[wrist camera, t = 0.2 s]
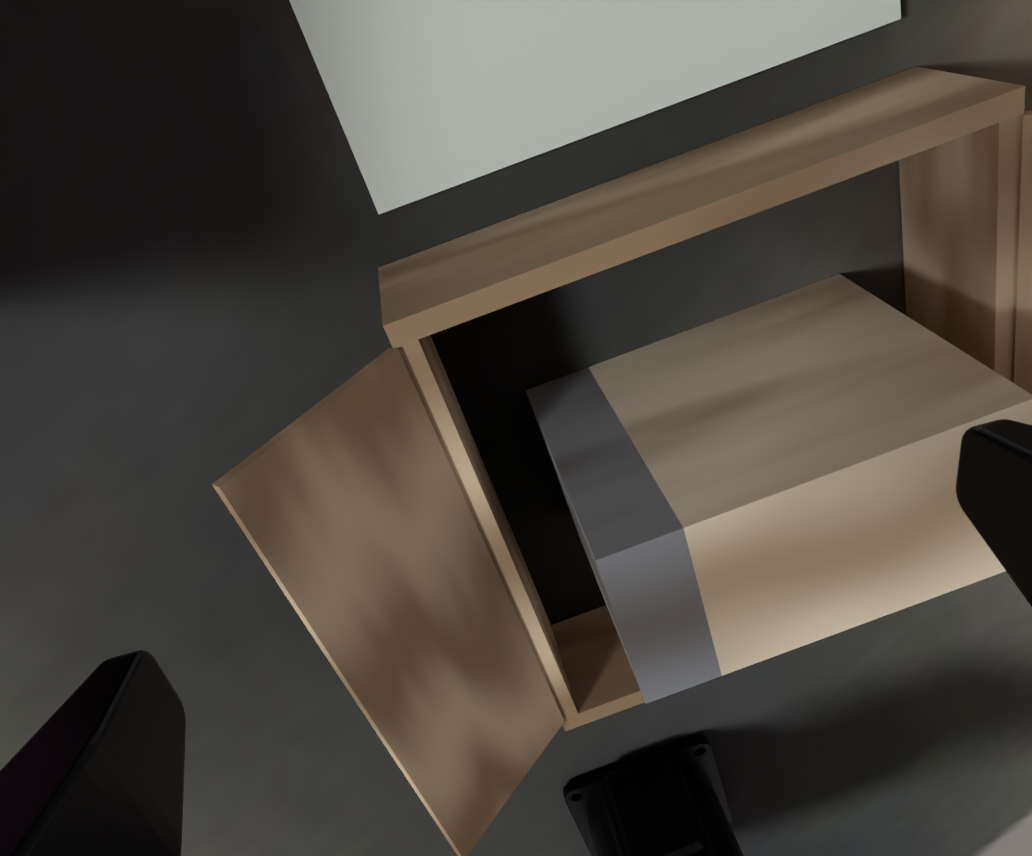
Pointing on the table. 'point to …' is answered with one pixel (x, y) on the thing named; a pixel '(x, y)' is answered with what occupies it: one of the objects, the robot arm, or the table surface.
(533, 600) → the carton
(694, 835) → the robot arm
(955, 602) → the table surface
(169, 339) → the table surface
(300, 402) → the table surface
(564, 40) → the mat
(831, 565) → the box
